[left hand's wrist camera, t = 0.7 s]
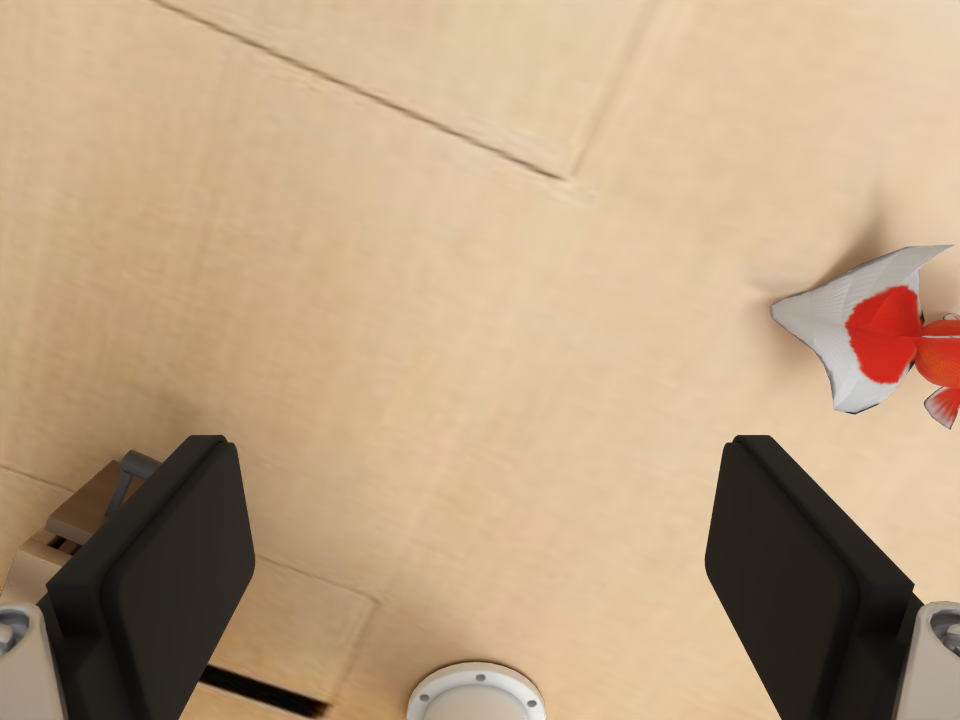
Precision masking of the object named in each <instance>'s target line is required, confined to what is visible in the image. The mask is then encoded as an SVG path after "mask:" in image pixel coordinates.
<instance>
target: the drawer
mask: <svg viewBox="0 0 960 720" xmlns="http://www.w3.org/2000/svg"><path fill="white" fill-rule="evenodd" d="M162 464H163V463H161V462H158V461H156V460H154V459H152V458H150V457H147V456H145V455H143V454H141V453H139V452H136V451H134V450H130V451H129V452H128V453H127V454H126V455H125V457H124V458H123V460H122V461H121V463H119V462H117V461H115V460H112V461H111V462H110V463H109V464H108V465H107V466H106V467H104V468H103V469H102V470H101V471H100V472H99V473H98V474H96V475H95V476H94V477H93V478H92V479H91V480H90V481H88V482H87V483H86V484H85V485H84V486H83V487H82V488H80V489H79V490H78V491H77V492H76V493H75V494H74V495H73V496H71V497H70V498H69V499H68V500H67V501H66V502H65V503H63V504H62V505H61V506H60V507H59V508H58V509H57V510H55V511H54V512H53V513H52V514H51V515H50V516H49V518H48V520H47V523H46V526H45V528H44V530H46V531H49V532H51V533H54V534H56V535H58V536H61V537H63V538H66V539H67V540H66V541H65V542H64V543H63V544H62V545H61V546H60V547H59V548H58V549H57V550H59V551H62V552H64V553H67V554H69V555H72V556H73V555H74V554H75V553H76V552H77V551H78V550H79V549H80V548H81V547H82V546H83V545H84V544H85V543H86V542H87V541H88V540H89V539H90V538H91V537H92V536H93V535H94V534H95V533H96V532H97V531H98V530H99V529H100V527H101V526H102V525H103V524H104V523H105V522H106V521H107V520H108V519H109V518H110V517H111V516H112V515H113V514H114V513H115V512H116V511H117V510H118V509H119V508H120V507H121V506H122V505H123V504H124V503H125V502H126V501H127V500H128V499H129V498H130V497H131V496H132V495H133V493H134V492H135V491H136V490H137V489H138V488H139V487H140V486H141V485H142V484H143V483H144V482H145V481H146V480H147V479H148V478H149V477H150V476H151V475H152V474H153V473H154V472H155V471H156V470H157V469H158V468H159V467H160V466H161V465H162Z"/></svg>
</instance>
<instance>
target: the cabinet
mask: <svg viewBox="0 0 960 720" xmlns="http://www.w3.org/2000/svg"><path fill="white" fill-rule="evenodd" d="M45 526H46V524H45V525H44V526H43V527H42V528H41V529H40V530H39V531H38V532H37V533H35V534H34V535H33V536H32V537H31V538H30V539H28V540H27V541H26V542H25V543H24V544H23V545H22V546H21V547H19V548H18V549H17V552H16V555H15V558H14V560H13V563H12V566H11V569H10V571H9V574H8V577H7V580H6V582H5V585H4V588H3V590H2V593H1V596H0V603H4V602H11V601H20V602H29V603H32V604H34V605H36V604H37V603H38V602H39V601H40V599H41V598H42V597H43V596H44V595H45V594H46V593H47V592H48V591H47V588H46V585H45V584H46V583H47V582H48V581H49V580H50V579H51V578H52V577H53V576H54V575H55V574H56V573H57V572H58V571H59V570H60V569H61V568H62V567H63V566H64V565H65V564H66V563H67V561H68V560H69V559H70V558H71V557H72V555H69V554H67V553H64V552H62V551H59V550H57V549H58V548H59V547H60V546H61V545H62V544H63V543H64V542H65V541H66V540H67V539H66V538H63V537H61V536H58V535H56V534H54V533H51V532H49V531H46V530H44V528H45Z"/></svg>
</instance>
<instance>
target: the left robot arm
mask: <svg viewBox="0 0 960 720" xmlns="http://www.w3.org/2000/svg"><path fill="white" fill-rule="evenodd" d="M254 568H255V553H254V548H253V542H252V536H251V530H250V524H249V518H248V512H247V506H246V500H245V495H244V489H243V483H242V477H241V471H240V465H239V459H238V453H237V449H236V446H235V444H234V443H228V442H227V440H226V438H225V437H224V436H223V435H191V436H189V437H188V438H187V439H186V440H185V441H184V442H183V443H182V444H181V445H180V446H179V447H178V448H177V449H176V450H175V451H174V452H173V453H172V454H171V455H170V456H169V457H168V458H167V459H166V461H165V462H164V463H163V464H162V465H161V466H160V467H159V468H158V469H157V470H156V471H155V472H154V473H153V474H152V475H151V476H150V477H149V478H148V479H147V480H146V481H145V482H144V483H143V484H142V485H141V486H140V487H139V488H138V489H137V490H136V491H135V492H134V493H133V495H132V496H131V497H130V498H129V499H128V500H127V501H126V502H125V503H124V504H123V505H122V506H121V507H120V508H119V509H118V510H117V511H116V512H115V513H114V514H113V515H112V516H111V517H110V518H109V519H108V520H107V521H106V522H105V523H104V524H103V525H102V526H101V527H100V529H99V530H98V531H97V532H96V533H95V534H94V535H93V536H92V537H91V538H90V539H89V540H88V541H87V542H86V543H85V544H84V545H83V546H82V547H81V548H80V549H79V550H78V551H77V552H76V553H75V554H74V555H73V556H72V557H71V558H70V559H69V560H68V561H67V563H66V564H65V565H64V566H63V567H62V568H61V569H60V570H59V571H58V572H57V573H56V574H55V575H54V576H53V577H52V578H51V579H50V580H49V581H48V582H47V583H46V584H45V585H46V588H47V591H48V592H47V593H46V594H45V595H44V596H43V597H42V598H41V599H40V601H39V602H38V603H37V604H36V605H34V604H32V603H29V602H20V601H11V602H4V603H0V720H178V719H179V717H180V715H181V714H182V712H183V710H184V708H185V706H186V704H187V702H188V700H189V698H190V696H191V694H192V692H193V690H194V688H195V686H196V685H197V683H198V681H199V679H200V677H201V675H202V673H203V671H204V669H205V667H206V665H207V663H208V661H209V659H210V657H211V656H212V654H213V652H214V650H215V648H216V646H217V644H218V642H219V640H220V638H221V636H222V634H223V632H224V630H225V628H226V627H227V625H228V623H229V621H230V619H231V617H232V615H233V613H234V611H235V609H236V607H237V605H238V603H239V601H240V599H241V598H242V596H243V594H244V592H245V590H246V588H247V586H248V584H249V582H250V580H251V578H252V576H253V573H254ZM705 568H706V573H707V576H708V578H709V580H710V582H711V584H712V586H713V588H714V590H715V592H716V594H717V596H718V598H719V599H720V601H721V603H722V605H723V607H724V609H725V611H726V613H727V615H728V617H729V619H730V621H731V623H732V625H733V627H734V628H735V630H736V632H737V634H738V636H739V638H740V640H741V642H742V644H743V646H744V648H745V650H746V652H747V654H748V656H749V657H750V659H751V661H752V663H753V665H754V667H755V669H756V671H757V673H758V675H759V677H760V679H761V681H762V683H763V685H764V686H765V688H766V690H767V692H768V694H769V696H770V698H771V700H772V702H773V704H774V706H775V708H776V710H777V712H778V714H779V715H780V717H781V719H782V720H960V603H956V602H949V601H940V602H931V603H928V604H926V605H924V604H923V603H922V602H921V601H920V599H919V598H918V597H917V596H916V595H915V594H914V593H913V592H912V591H913V588H914V585H915V584H914V583H913V582H912V581H911V580H910V579H909V578H908V577H907V576H906V575H905V574H904V573H903V572H902V571H901V570H900V569H899V568H898V567H897V566H896V565H895V564H894V563H893V561H892V560H891V559H890V558H889V557H888V556H887V555H886V554H885V553H884V552H883V551H882V550H881V549H880V548H879V547H878V546H877V545H876V544H875V543H874V542H873V541H872V540H871V539H870V538H869V537H868V536H867V535H866V534H865V533H864V532H863V531H862V530H861V529H860V527H859V526H858V525H857V524H856V523H855V522H854V521H853V520H852V519H851V518H850V517H849V516H848V515H847V514H846V513H845V512H844V511H843V510H842V509H841V508H840V507H839V506H838V505H837V504H836V503H835V502H834V501H833V500H832V499H831V498H830V497H829V496H828V495H827V493H826V492H825V491H824V490H823V489H822V488H821V487H820V486H819V485H818V484H817V483H816V482H815V481H814V480H813V479H812V478H811V477H810V476H809V475H808V474H807V473H806V472H805V471H804V470H803V469H802V468H801V467H800V466H799V465H798V464H797V463H796V462H795V461H794V459H793V458H792V457H791V456H790V455H789V454H788V453H787V452H786V451H785V450H784V449H783V448H782V447H781V446H780V445H779V444H778V443H777V442H776V441H775V440H774V439H773V438H772V437H771V436H769V435H737V436H736V437H735V438H734V440H733V442H732V443H726V444H725V446H724V449H723V453H722V459H721V465H720V471H719V477H718V483H717V489H716V495H715V500H714V506H713V512H712V518H711V524H710V530H709V536H708V542H707V548H706V553H705ZM406 720H546V715H545V707H544V702H543V699H542V697H541V694H540V693H539V691H538V690H537V688H536V687H535V685H533V684H532V683H531V682H530V681H529V680H528V679H527V678H526V677H524V676H523V675H521V674H519V673H518V672H516V671H514V670H512V669H509V668H507V667H504V666H500V665H496V664H492V663H483V662H468V663H460V664H455V665H451V666H448V667H445V668H443V669H440V670H438V671H436V672H434V673H432V674H431V675H429V676H428V677H426V678H425V679H424V680H423V681H422V682H420V683H419V685H418V686H417V687H416V688H415V690H414V691H413V693H412V695H411V697H410V699H409V703H408V708H407V718H406Z"/></svg>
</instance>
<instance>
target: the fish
mask: <svg viewBox="0 0 960 720" xmlns="http://www.w3.org/2000/svg"><path fill="white" fill-rule="evenodd" d="M952 246H954V245H938V246H916V247H905V248H902V249H899V250H897V251H894V252H892V253H889V254H886V255H884V256H881V257H879V258H876V259H873V260H871V261H868V262H865V263H863V264H860V265H859V266H857V267H855V268H853V269H851V270H849V271H847V272H845V273H844V274H842V275H840V276H838V277H836V278H834V279H832V280H830V281H828V282H826V283H825V284H823V285H821V286H819V287H817V288H815V289H813V290H811V291H808V292H804V293H801V294H797V295H794V296H791V297H788V298H785V299H783V300H780V301H778V302H775V303H774V304H772V305H771V306H770V312H771V317H772V318H773V319H774V320H775V321H776V322H777V323H779V324H780V325H781V326H782V327H784V328H785V329H786V330H788V331H789V332H790V333H792V334H793V335H794V336H795V337H797V338H798V339H799V340H801V341H802V342H803V343H805V344H806V345H807V346H809V347H810V348H811V349H813V350H814V351H815V353H816V354H817V356H818V357H819V359H820V360H821V361H822V363H823V364H824V367H825V369H826V372H827V375H828V377H829V380H830V383H831V390H832V396H833V409H834V410H837V411H842V412H846V413H850V414H857V413H859V412H862V411H864V410H867V409H869V408H871V407H874V406H876V405H878V404H879V403H880V402H882V401H883V400H884V399H885V398H886V397H887V396H889V395H890V394H891V393H892V391H893V390H894V389H895V388H896V387H897V385H898V384H899V383H900V382H901V380H902V379H903V378H904V377H905V375H906V374H907V373H908V372H909V370H910V369H911V368H912V366H913V365H914V364H915V365H916V368H917V370H918V371H919V373H920V374H921V375H922V376H923V377H924V378H925V379H927V380H928V381H929V382H931V383H933V384H936V385H939V386H943V387H941V388H940V389H938V390H937V391H935V392H934V393H933V394H932V395H930V396H929V397H928V398H927V399H926V400H925V401H924V405H925V408H926V409H927V411H928V412H929V413H930V415H931V416H932V418H934V419H935V420H936V421H938V422H939V423H941V424H942V425H943V426H945V427H947V428H948V429H950V430H951V427H952V425H953V423H954V421H955V419H956V416H957V413H958V410H959V408H960V315H958V314H948V315H946V316H944V317H943V319H944V320H939V321H935V322H932V323H930V324H928V325H927V326H925V327H924V328H923V324H924V321H925V320H924V316H923V312H922V307H921V303H920V299H919V270H920V269H921V267H922V266H923V265H924V264H925V263H926V262H927V261H928V260H930V259H931V258H933V257H934V256H935V255H937V254H939V253H940V252H942V251H944V250H945V249H947V248H949V247H952Z"/></svg>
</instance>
